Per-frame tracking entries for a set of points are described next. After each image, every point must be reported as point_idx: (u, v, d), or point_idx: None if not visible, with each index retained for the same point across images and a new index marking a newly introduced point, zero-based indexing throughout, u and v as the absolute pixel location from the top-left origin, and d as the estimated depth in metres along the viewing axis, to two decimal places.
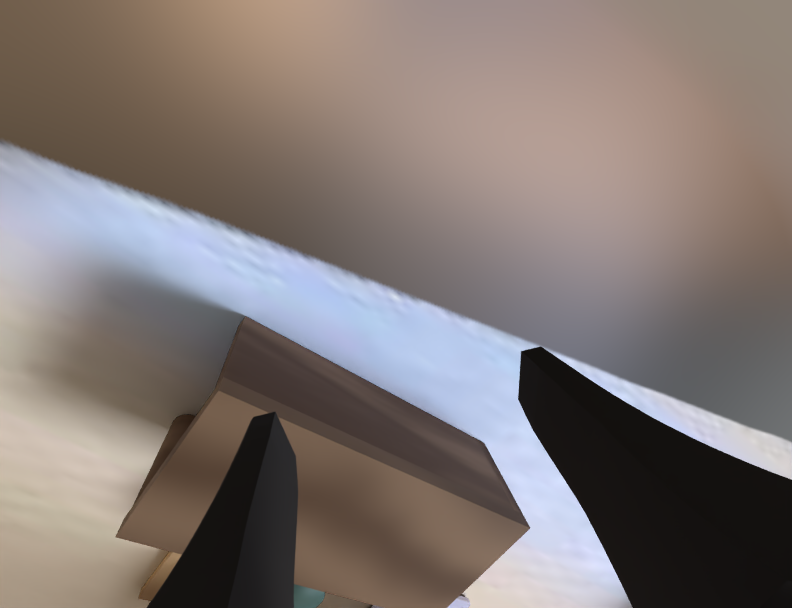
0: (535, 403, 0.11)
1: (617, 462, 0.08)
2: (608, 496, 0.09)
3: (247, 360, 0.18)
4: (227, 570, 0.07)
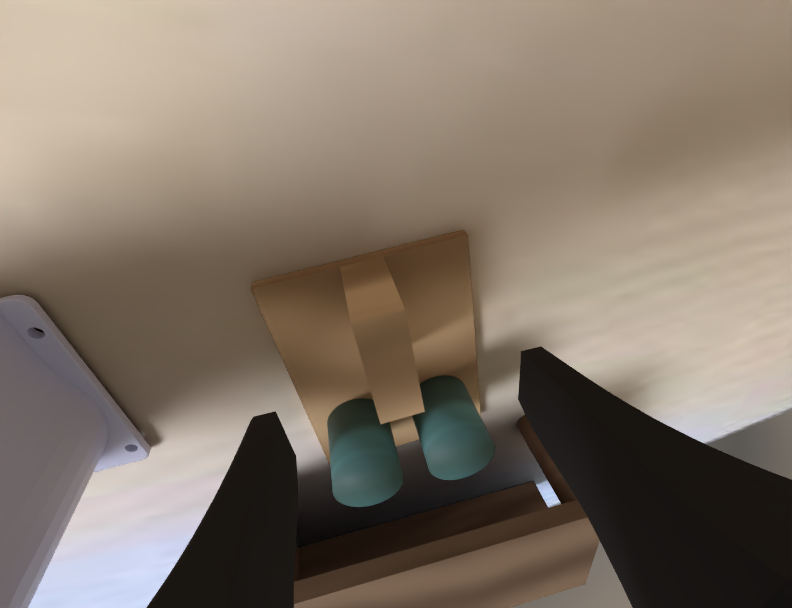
0: (535, 403, 0.11)
1: (617, 462, 0.08)
2: (608, 496, 0.09)
3: None
4: (227, 570, 0.07)
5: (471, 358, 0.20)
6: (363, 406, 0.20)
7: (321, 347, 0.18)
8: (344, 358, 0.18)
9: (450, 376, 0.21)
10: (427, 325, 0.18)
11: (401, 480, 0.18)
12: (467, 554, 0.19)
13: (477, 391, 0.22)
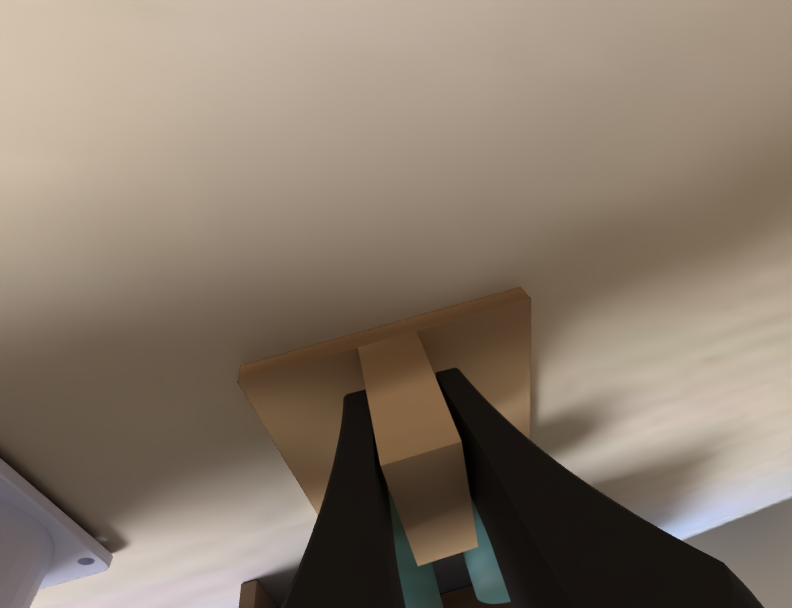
0: None
1: (498, 495, 0.08)
2: (498, 527, 0.08)
3: None
4: (370, 530, 0.07)
5: None
6: None
7: (334, 440, 0.14)
8: None
9: None
10: None
11: None
12: None
13: None
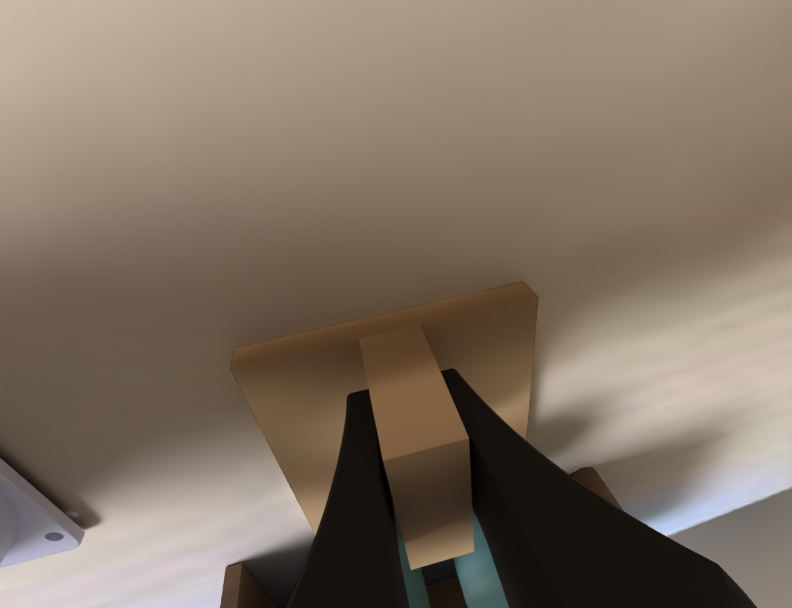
0: None
1: (495, 496, 0.08)
2: (495, 528, 0.08)
3: None
4: (375, 529, 0.07)
5: None
6: None
7: (326, 436, 0.13)
8: None
9: None
10: None
11: None
12: None
13: None
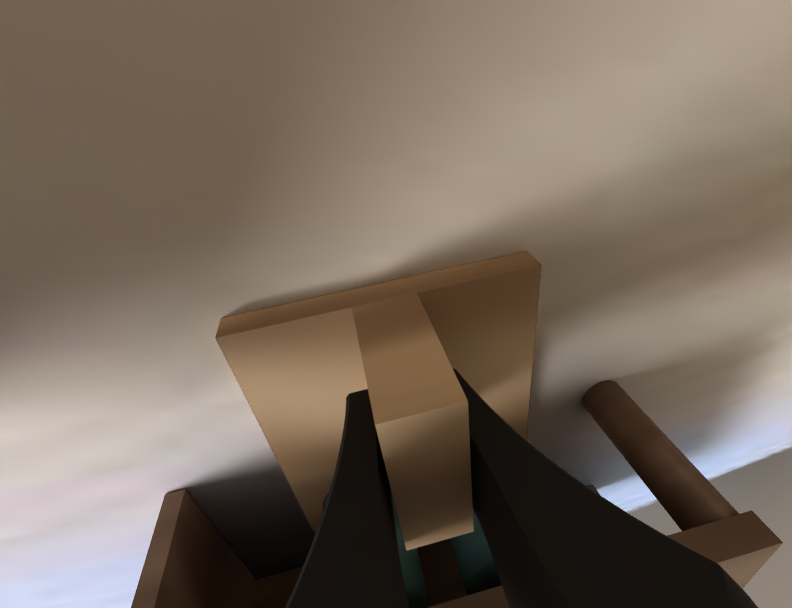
0: None
1: (495, 496, 0.08)
2: (495, 528, 0.08)
3: None
4: (374, 529, 0.07)
5: (520, 424, 0.15)
6: None
7: (319, 414, 0.13)
8: None
9: None
10: None
11: (426, 605, 0.13)
12: None
13: None
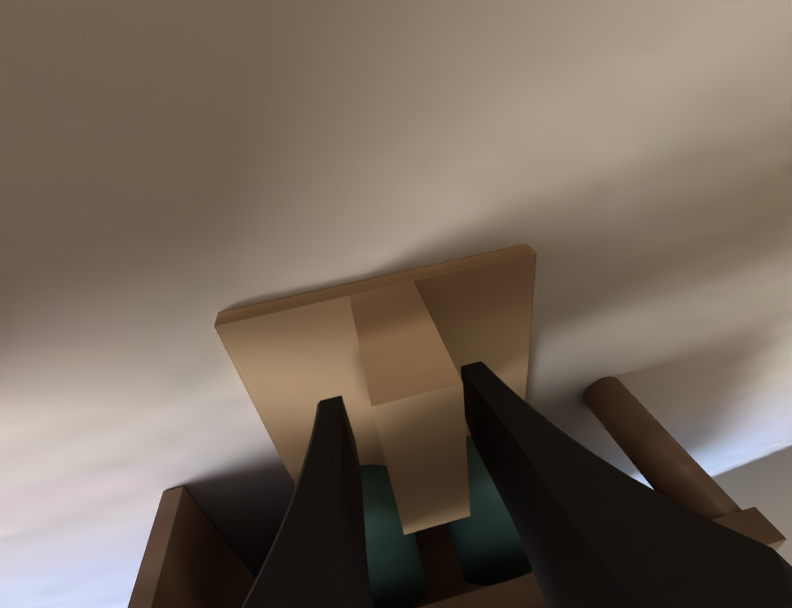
0: (474, 419, 0.11)
1: (533, 485, 0.08)
2: (531, 518, 0.09)
3: None
4: (330, 541, 0.07)
5: None
6: (372, 477, 0.14)
7: (317, 403, 0.13)
8: (349, 417, 0.13)
9: None
10: None
11: (424, 591, 0.13)
12: None
13: None
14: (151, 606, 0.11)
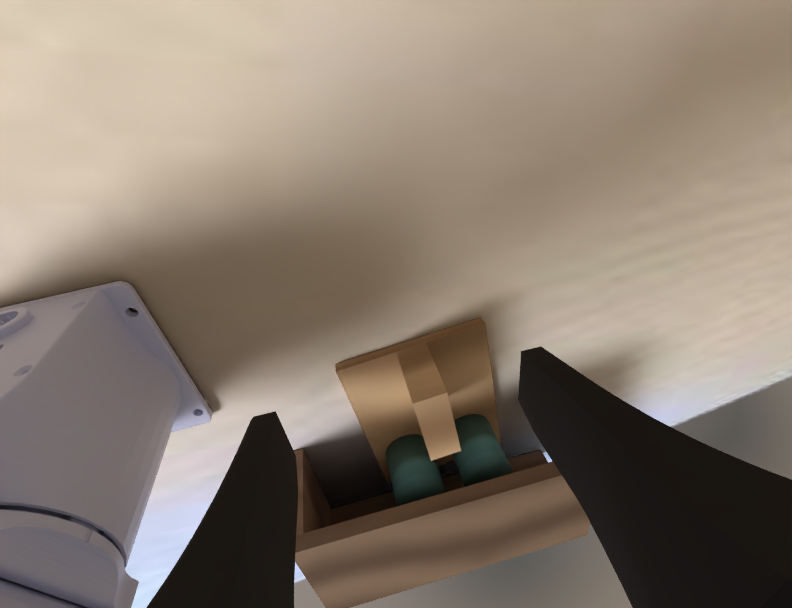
0: (535, 403, 0.11)
1: (617, 462, 0.08)
2: (608, 496, 0.09)
3: None
4: (227, 570, 0.07)
5: (491, 401, 0.27)
6: (412, 441, 0.27)
7: (382, 403, 0.25)
8: (398, 409, 0.25)
9: (476, 414, 0.27)
10: (458, 382, 0.25)
11: None
12: (483, 499, 0.22)
13: (497, 423, 0.28)
14: (302, 501, 0.23)
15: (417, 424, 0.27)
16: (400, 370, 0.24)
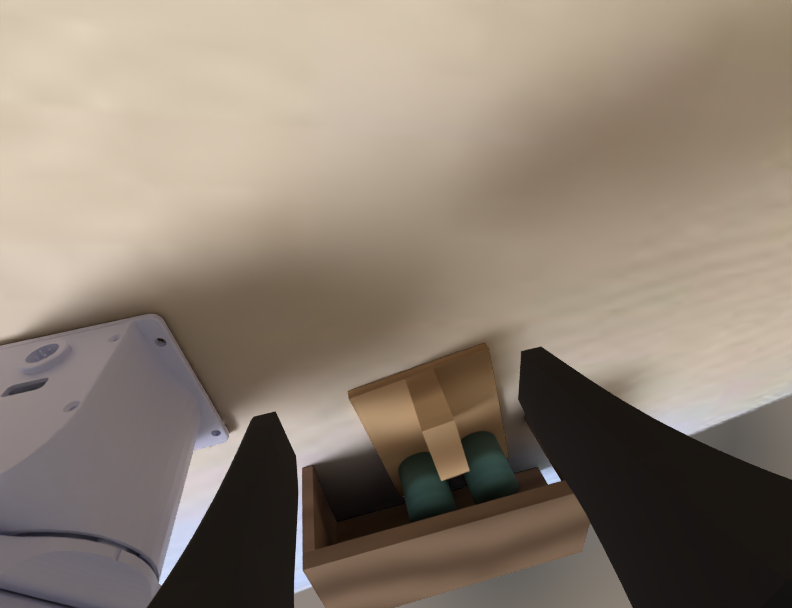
0: (535, 403, 0.11)
1: (617, 462, 0.08)
2: (608, 496, 0.09)
3: None
4: (226, 570, 0.07)
5: (498, 418, 0.28)
6: (423, 458, 0.28)
7: (394, 425, 0.26)
8: (409, 429, 0.27)
9: (483, 431, 0.28)
10: (465, 403, 0.26)
11: None
12: (485, 519, 0.23)
13: (504, 438, 0.29)
14: (313, 518, 0.25)
15: None
16: (409, 395, 0.25)
